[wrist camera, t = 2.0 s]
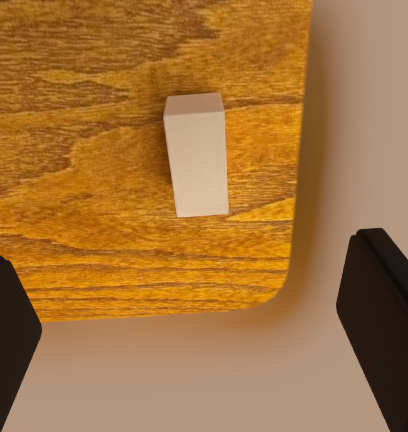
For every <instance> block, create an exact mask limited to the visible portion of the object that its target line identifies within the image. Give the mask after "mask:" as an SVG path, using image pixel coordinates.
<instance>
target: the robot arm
mask: <svg viewBox="0 0 408 432" xmlns="http://www.w3.org/2000/svg"><path fill="white" fill-rule="evenodd" d="M336 308H337V314H338V316H339V318H340V321H341V323H342V325H343V328H344V330H345V332H346V334H347V337H348V339H349V341H350V343H351V345H352V347H353V350H354V352H355V354H356V356H357V359H358V361H359V363H360V366H361V368H362V370H363V372H364V374H365V377H366V379H367V381H368V383H369V386H370V388H371V390H372V392H373V394H374V397H375V399H376V401H377V403H378V405H379V408H380V410H381V412H382V415H383V417H384V419H385V420H386V423H387V425H388V428H389V430H390V432H408V260H407V258H406V257H405V256H404V254H403V253H402V252H401V251H400V249H399V248H398V247H397V245H396V244H395V243H394V242H393V241H392V239H391V238H390V237H389V235H388V234H387V233H386V232H385V230H383V229H382V228H372V229H360V230H358V231H357V233H356V235H352V236H351V237H350V241H349V246H348V250H347V255H346V259H345V264H344V269H343V274H342V278H341V283H340V288H339V292H338V297H337V302H336ZM41 333H42V326H41V323H40V321H39V319H38V317H37V315H36V312H35V310H34V308H33V306H32V304H31V302H30V300H29V298H28V296H27V294H26V292H25V290H24V288H23V286H22V284H21V282H20V280H19V278H18V276H17V274H16V272H15V269H14V267H13V265H12V264H11V262H10V261H9V260H5V259H4V257H2V256H0V432H1V431H2V428H3V426H4V424H5V421H6V419H7V416H8V414H9V412H10V409H11V407H12V404H13V402H14V400H15V397H16V395H17V392H18V390H19V388H20V385H21V383H22V380H23V378H24V376H25V373H26V371H27V369H28V366H29V363H30V361H31V359H32V357H33V354H34V352H35V349H36V347H37V345H38V342H39V340H40V337H41Z"/></svg>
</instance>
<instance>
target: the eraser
mask: <svg viewBox="0 0 408 432" xmlns="http://www.w3.org/2000/svg"><path fill="white" fill-rule="evenodd" d="M163 121H164V128H165V136H166V143H167V150H168V157H169V164H170V172H171V179H172V186H173V193H174V200H175V207H176V215H177V217H178V218H179V217H192V216H206V215H219V214H228V187H227V161H226V135H225V112H224V108H223V104H222V100H221V95H220V93H219V92H216V93H203V94H191V95H178V96H168V97H167V101H166V105H165V110H164V115H163Z"/></svg>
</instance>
